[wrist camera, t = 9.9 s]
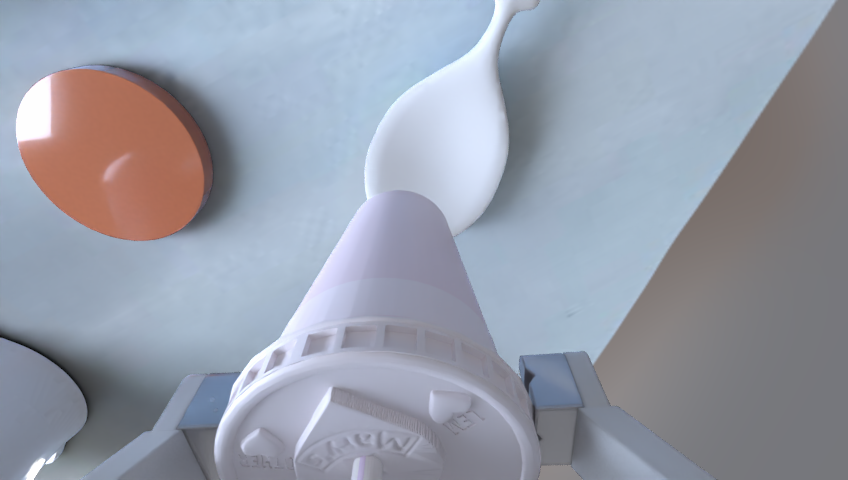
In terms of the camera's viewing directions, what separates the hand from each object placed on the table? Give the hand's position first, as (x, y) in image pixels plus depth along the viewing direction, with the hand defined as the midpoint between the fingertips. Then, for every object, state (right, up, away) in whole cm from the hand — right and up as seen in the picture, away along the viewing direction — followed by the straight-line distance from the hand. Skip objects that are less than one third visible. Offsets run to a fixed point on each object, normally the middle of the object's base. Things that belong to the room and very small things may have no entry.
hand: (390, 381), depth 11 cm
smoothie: (0, +4, +6) cm, 7 cm away
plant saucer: (-20, +9, +21) cm, 31 cm away
